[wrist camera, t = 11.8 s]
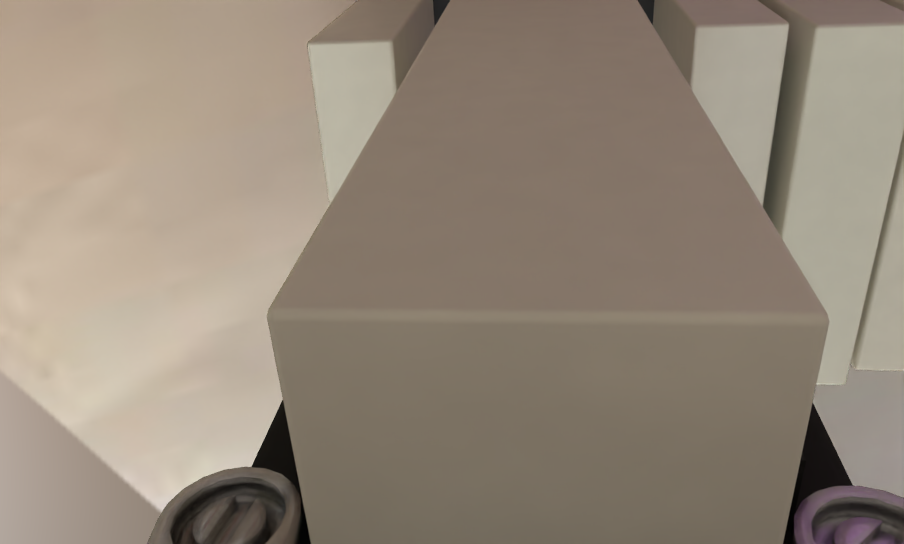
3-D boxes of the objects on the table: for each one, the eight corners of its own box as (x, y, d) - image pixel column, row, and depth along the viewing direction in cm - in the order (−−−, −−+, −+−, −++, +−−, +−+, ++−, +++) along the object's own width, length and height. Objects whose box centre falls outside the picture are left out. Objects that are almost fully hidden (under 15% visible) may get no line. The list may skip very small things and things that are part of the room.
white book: (627, -19, 14) (837, 317, 4) (608, 361, 17) (689, 1003, 8) (455, -13, 14) (260, 310, 4) (473, 359, 18) (392, 970, 8)
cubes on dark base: (1108, -96, 17) (1402, -67, 11) (992, 274, 21) (1160, 433, 15) (372, -62, 18) (296, -21, 13) (403, 273, 23) (356, 414, 17)
